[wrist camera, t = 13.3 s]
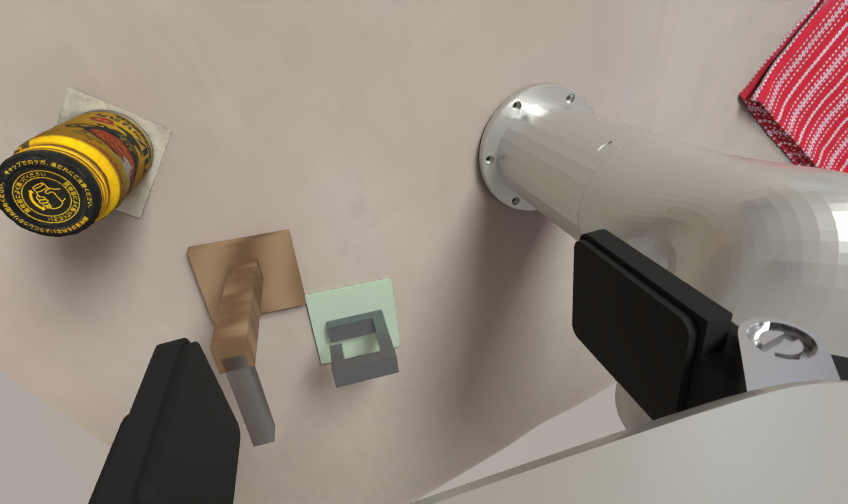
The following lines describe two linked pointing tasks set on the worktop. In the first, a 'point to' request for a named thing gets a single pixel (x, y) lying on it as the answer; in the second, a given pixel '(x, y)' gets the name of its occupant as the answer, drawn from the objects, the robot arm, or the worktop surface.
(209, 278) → the stand
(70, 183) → the condiment
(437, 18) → the worktop surface
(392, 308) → the mat
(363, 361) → the link
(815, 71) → the dish towel
